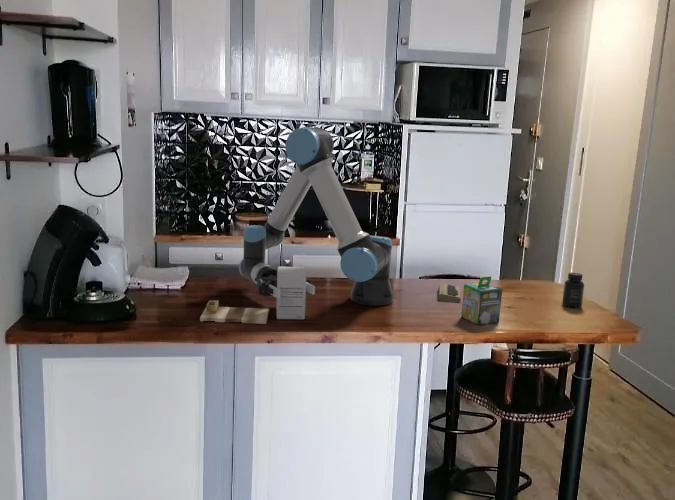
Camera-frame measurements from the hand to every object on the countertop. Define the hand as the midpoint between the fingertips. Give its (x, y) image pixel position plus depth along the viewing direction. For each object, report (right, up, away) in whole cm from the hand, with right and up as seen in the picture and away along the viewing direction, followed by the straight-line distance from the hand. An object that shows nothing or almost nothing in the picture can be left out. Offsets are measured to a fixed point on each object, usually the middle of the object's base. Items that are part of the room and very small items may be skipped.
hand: (296, 292), depth 203 cm
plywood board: (-19, -8, +1) cm, 21 cm away
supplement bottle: (+97, -7, +33) cm, 103 cm away
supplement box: (-2, -8, +5) cm, 10 cm away
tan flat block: (+54, -5, +39) cm, 67 cm away
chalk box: (+59, -10, +11) cm, 61 cm away
